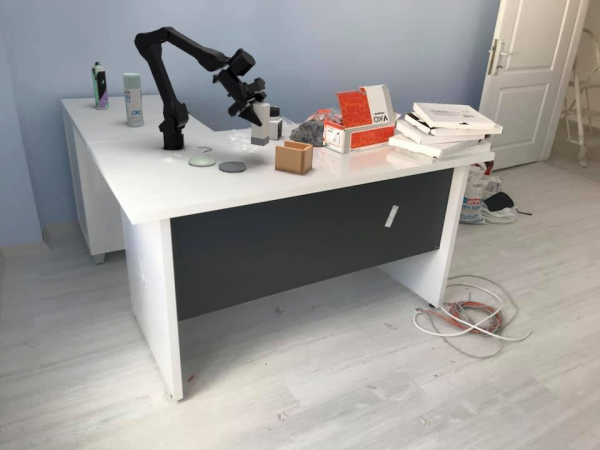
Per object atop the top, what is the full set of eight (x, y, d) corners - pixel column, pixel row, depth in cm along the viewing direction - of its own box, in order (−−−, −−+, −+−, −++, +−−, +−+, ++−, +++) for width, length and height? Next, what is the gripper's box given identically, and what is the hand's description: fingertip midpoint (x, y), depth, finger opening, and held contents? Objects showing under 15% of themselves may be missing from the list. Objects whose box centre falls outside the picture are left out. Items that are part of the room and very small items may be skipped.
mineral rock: (287, 142, 192) (288, 116, 187) (304, 137, 199) (305, 112, 195) (314, 150, 185) (316, 123, 180) (330, 144, 193) (333, 118, 188)
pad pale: (187, 166, 161) (187, 164, 160) (189, 157, 169) (189, 155, 168) (215, 167, 162) (215, 164, 161) (216, 158, 170) (216, 156, 169)
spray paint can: (146, 126, 201) (142, 75, 192) (130, 127, 197) (125, 75, 189) (141, 122, 206) (136, 72, 197) (125, 123, 202) (120, 73, 194)
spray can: (106, 110, 221) (101, 63, 212) (94, 109, 221) (88, 62, 212) (110, 107, 226) (106, 61, 217) (98, 106, 226) (93, 60, 217)
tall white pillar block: (250, 144, 164) (251, 104, 159) (256, 140, 168) (257, 101, 163) (263, 146, 163) (264, 106, 157) (269, 142, 167) (270, 103, 161)
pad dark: (218, 172, 157) (218, 170, 157) (218, 163, 165) (218, 160, 165) (246, 172, 159) (246, 170, 158) (246, 163, 167) (246, 161, 166)
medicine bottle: (277, 140, 193) (278, 109, 188) (259, 138, 194) (260, 107, 189) (281, 135, 200) (283, 105, 194) (264, 133, 201) (265, 104, 195)
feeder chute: (311, 168, 166) (313, 144, 163) (302, 175, 160) (304, 151, 156) (284, 162, 170) (285, 140, 166) (274, 169, 163) (275, 146, 159)
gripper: (236, 73, 149) (269, 115, 150) (262, 66, 165) (291, 103, 166) (213, 96, 154) (245, 136, 156) (240, 87, 170) (269, 123, 172)
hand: (264, 124), depth 162 cm, fingers closed on tall white pillar block, 4 cm apart
